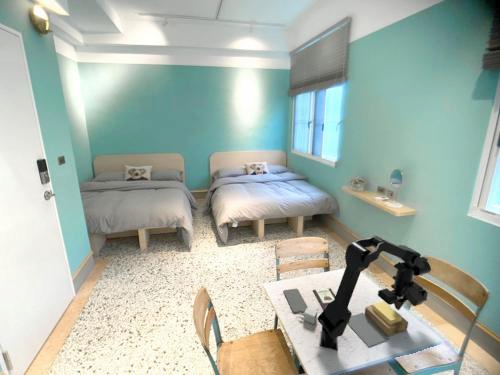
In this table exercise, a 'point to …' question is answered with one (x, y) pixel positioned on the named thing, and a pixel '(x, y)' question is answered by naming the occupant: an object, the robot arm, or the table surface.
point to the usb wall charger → (309, 315)
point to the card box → (387, 312)
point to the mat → (367, 330)
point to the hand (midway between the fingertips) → (397, 309)
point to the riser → (383, 325)
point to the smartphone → (295, 300)
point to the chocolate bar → (324, 296)
